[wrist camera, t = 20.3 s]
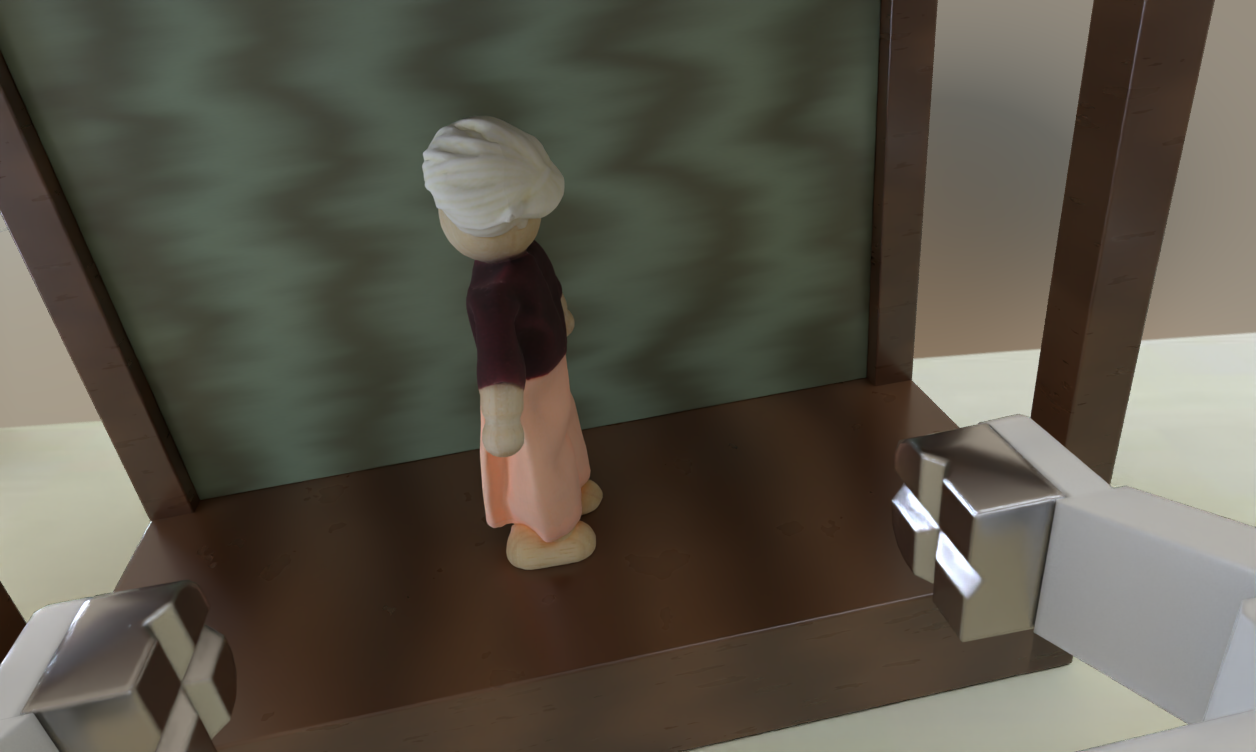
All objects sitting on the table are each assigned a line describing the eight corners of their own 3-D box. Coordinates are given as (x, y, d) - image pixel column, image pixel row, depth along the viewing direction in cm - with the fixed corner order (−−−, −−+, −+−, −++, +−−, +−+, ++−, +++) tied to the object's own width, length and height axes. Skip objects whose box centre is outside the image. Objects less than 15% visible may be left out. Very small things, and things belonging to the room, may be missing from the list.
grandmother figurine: (498, 470, 29) (415, 98, 23) (606, 455, 29) (552, 82, 23) (483, 633, 23) (361, 171, 16) (624, 613, 23) (555, 146, 16)
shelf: (890, 445, 35) (929, -256, 23) (1072, 664, 24) (1305, -410, 13) (201, 578, 32) (-138, -145, 21) (75, 890, 22) (-760, -227, 10)
